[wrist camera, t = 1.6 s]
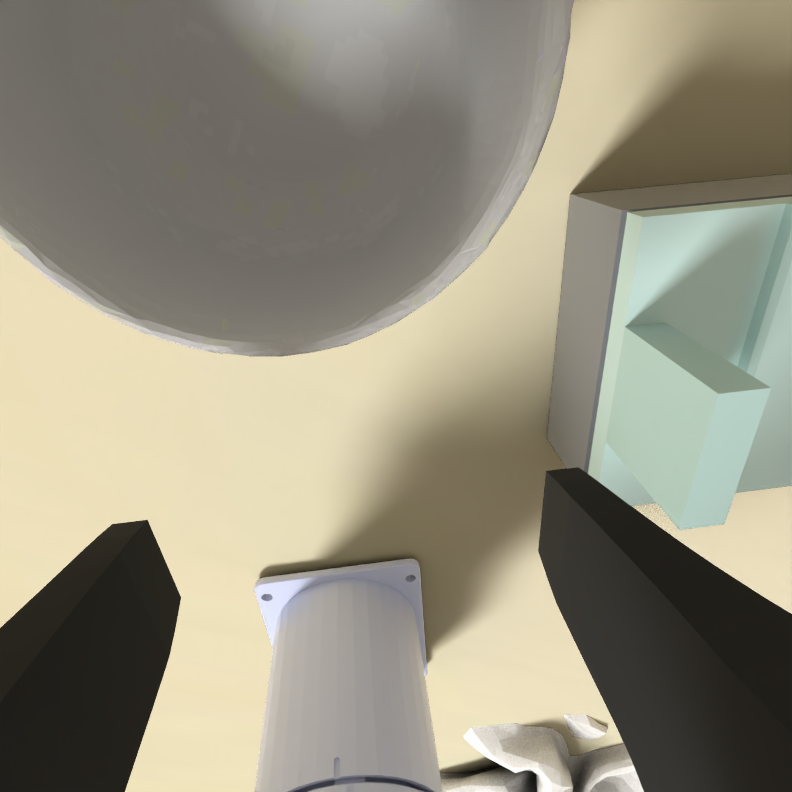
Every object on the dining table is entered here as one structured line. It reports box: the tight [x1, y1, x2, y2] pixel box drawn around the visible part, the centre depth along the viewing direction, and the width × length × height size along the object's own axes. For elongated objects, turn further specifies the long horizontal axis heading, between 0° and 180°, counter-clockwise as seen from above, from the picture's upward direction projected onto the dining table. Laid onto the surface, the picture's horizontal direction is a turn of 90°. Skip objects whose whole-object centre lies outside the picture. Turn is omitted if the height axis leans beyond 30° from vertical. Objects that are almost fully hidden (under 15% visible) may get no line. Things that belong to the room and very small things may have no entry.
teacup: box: [0, 0, 573, 356], centre depth 10 cm, size 14×11×8 cm
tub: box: [547, 174, 792, 474], centre depth 18 cm, size 12×10×4 cm
